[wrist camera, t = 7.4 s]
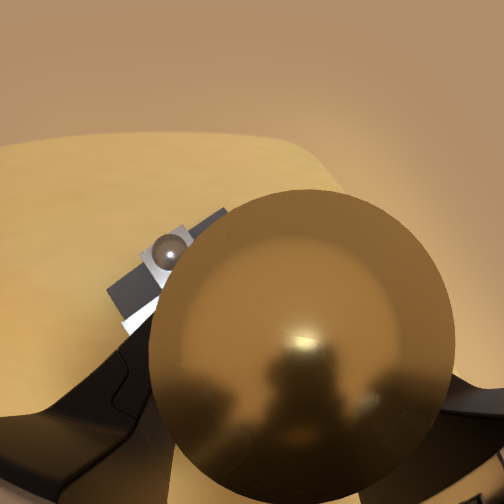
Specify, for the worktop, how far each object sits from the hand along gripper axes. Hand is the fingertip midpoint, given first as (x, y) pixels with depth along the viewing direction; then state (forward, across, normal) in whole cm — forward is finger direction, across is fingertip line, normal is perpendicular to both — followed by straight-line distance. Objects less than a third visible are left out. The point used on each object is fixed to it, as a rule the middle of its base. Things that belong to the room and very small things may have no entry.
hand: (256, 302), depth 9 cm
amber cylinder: (+4, 0, +6) cm, 7 cm away
